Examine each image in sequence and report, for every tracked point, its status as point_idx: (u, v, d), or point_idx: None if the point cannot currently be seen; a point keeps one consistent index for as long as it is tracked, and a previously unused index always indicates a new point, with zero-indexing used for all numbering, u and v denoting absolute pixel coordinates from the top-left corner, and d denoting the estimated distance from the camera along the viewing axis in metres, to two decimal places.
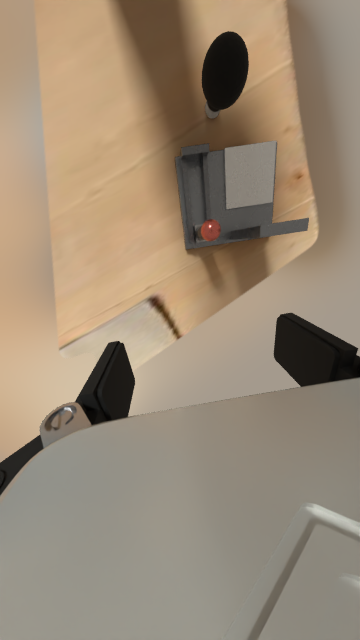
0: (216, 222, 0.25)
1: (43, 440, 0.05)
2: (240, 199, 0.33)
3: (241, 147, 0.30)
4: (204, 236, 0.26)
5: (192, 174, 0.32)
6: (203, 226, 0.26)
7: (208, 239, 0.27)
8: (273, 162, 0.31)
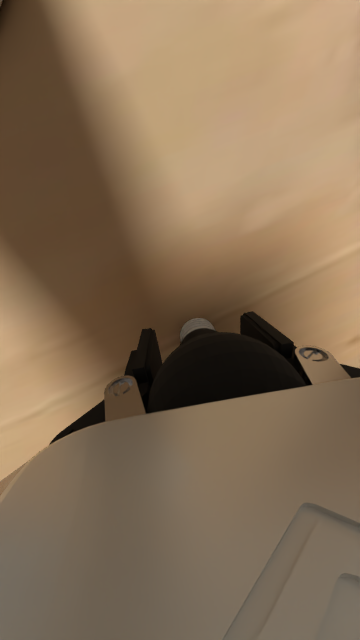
0: None
1: (112, 402, 0.06)
2: None
3: None
4: None
5: None
6: None
7: None
8: None
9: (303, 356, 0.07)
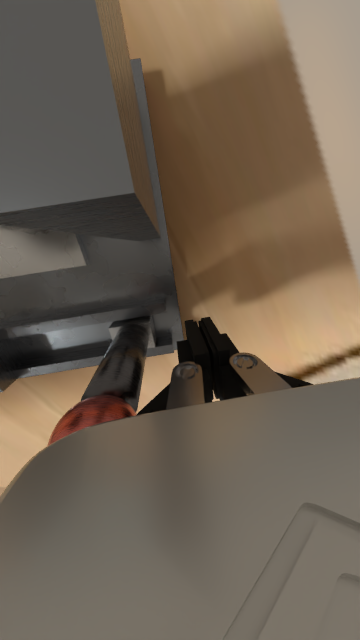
0: None
1: (186, 384, 0.06)
2: None
3: None
4: None
5: (41, 344, 0.15)
6: None
7: None
8: None
9: (238, 366, 0.07)
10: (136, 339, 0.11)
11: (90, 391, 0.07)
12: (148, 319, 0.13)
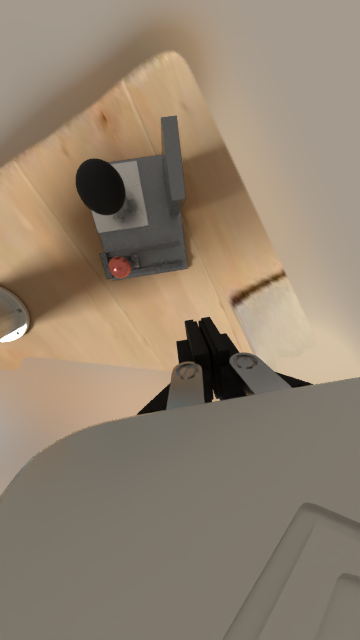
0: (110, 264, 0.24)
1: (186, 384, 0.06)
2: (138, 208, 0.30)
3: (93, 213, 0.30)
4: (126, 275, 0.25)
5: None
6: None
7: (128, 270, 0.25)
8: None
9: (238, 366, 0.07)
10: (130, 257, 0.30)
11: None
12: (136, 254, 0.32)
